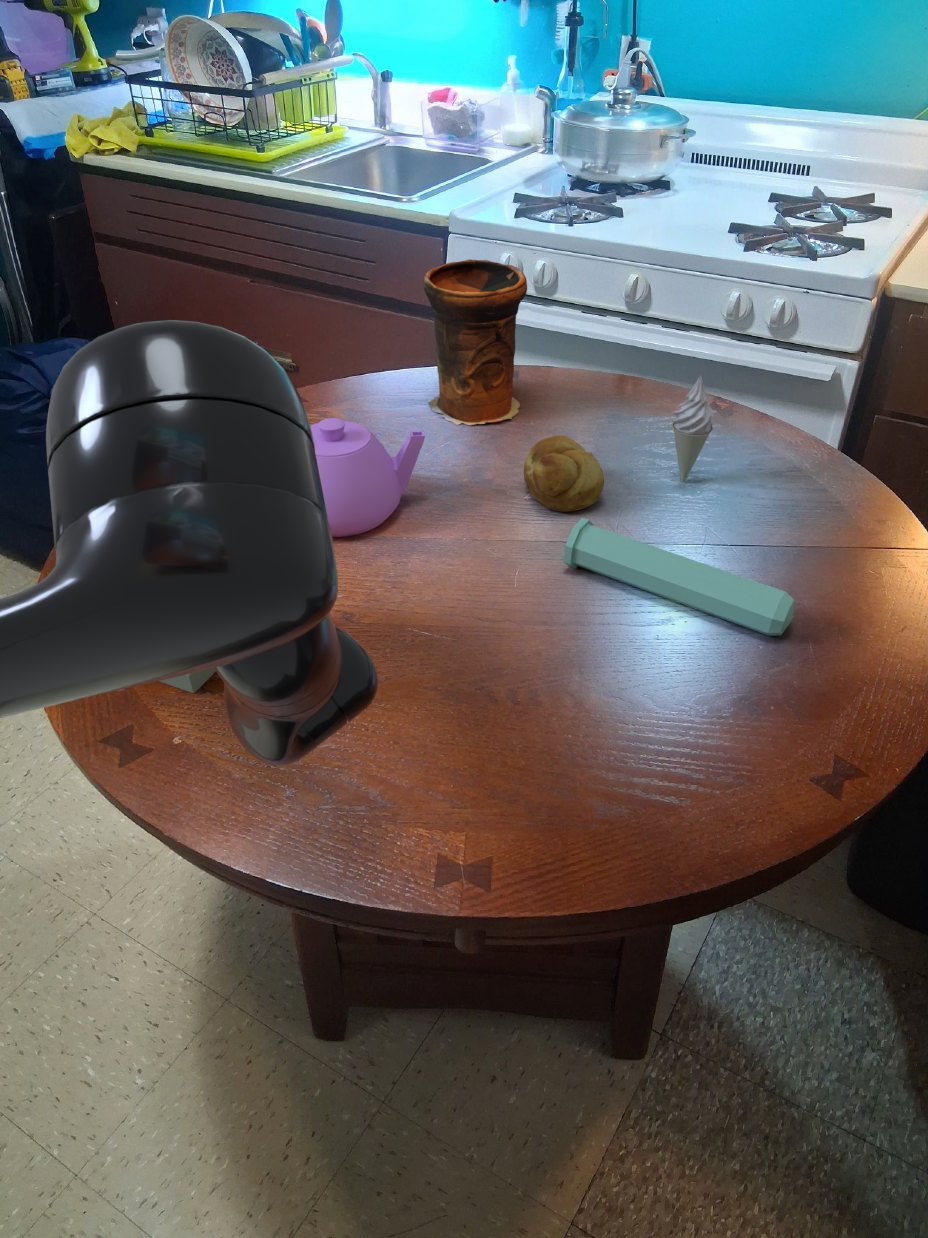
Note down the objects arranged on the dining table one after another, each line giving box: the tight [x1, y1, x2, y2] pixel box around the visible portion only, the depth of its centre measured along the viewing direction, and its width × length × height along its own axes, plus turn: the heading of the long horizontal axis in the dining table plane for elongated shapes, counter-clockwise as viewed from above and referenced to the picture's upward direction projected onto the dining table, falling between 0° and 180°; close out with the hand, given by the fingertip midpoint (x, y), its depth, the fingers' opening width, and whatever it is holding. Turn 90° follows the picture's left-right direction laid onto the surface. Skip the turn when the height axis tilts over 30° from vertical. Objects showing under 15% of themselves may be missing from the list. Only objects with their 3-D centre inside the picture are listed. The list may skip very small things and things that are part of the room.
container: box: [563, 517, 796, 637], centre depth 95 cm, size 6×6×25 cm
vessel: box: [423, 258, 528, 426], centre depth 127 cm, size 14×14×20 cm
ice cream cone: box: [671, 374, 715, 484], centre depth 111 cm, size 5×5×15 cm
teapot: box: [310, 417, 426, 538], centre depth 107 cm, size 22×16×12 cm
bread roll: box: [523, 434, 605, 513], centre depth 111 cm, size 13×10×8 cm
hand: (139, 496), depth 82 cm, fingers closed on tumbler, 6 cm apart
